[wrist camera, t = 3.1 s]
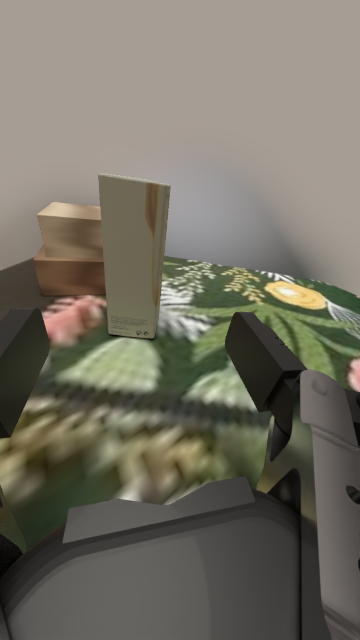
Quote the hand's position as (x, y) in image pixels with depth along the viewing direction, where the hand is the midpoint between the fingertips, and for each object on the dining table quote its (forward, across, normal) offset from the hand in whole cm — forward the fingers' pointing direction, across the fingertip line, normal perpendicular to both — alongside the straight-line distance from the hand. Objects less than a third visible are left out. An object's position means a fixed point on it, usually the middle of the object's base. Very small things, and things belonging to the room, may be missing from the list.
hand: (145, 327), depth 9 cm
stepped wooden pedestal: (+21, +5, +7) cm, 23 cm away
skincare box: (+11, 0, +7) cm, 13 cm away
